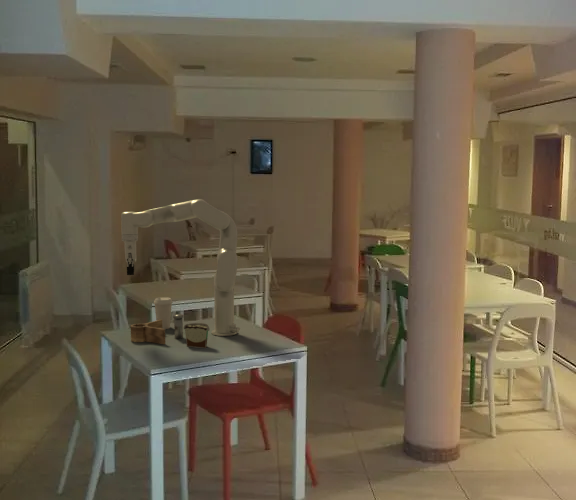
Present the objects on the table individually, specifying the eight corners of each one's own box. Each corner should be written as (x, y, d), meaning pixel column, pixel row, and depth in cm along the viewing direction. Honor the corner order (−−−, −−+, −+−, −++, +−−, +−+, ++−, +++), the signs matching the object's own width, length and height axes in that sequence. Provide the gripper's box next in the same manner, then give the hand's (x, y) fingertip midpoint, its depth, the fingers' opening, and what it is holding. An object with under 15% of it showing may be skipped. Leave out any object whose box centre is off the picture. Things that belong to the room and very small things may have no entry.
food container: (214, 345, 330) (214, 323, 329) (208, 348, 325) (208, 326, 323) (190, 343, 334) (189, 322, 333) (183, 346, 329) (183, 324, 327)
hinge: (186, 337, 346) (186, 323, 345) (158, 345, 329) (158, 330, 328) (155, 332, 356) (155, 318, 355) (127, 340, 339) (127, 326, 339)
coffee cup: (157, 325, 372) (156, 296, 370) (175, 326, 371) (174, 297, 369) (151, 329, 363) (150, 300, 361) (169, 330, 361) (169, 300, 360)
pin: (186, 337, 346) (185, 314, 344) (179, 339, 341) (178, 316, 340) (178, 336, 348) (177, 313, 347) (171, 338, 344) (170, 315, 343)
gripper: (137, 239, 334) (138, 275, 336) (138, 236, 351) (138, 270, 353) (121, 239, 333) (122, 276, 335) (122, 236, 350) (123, 271, 352)
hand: (130, 273), depth 344 cm, fingers open, 9 cm apart
